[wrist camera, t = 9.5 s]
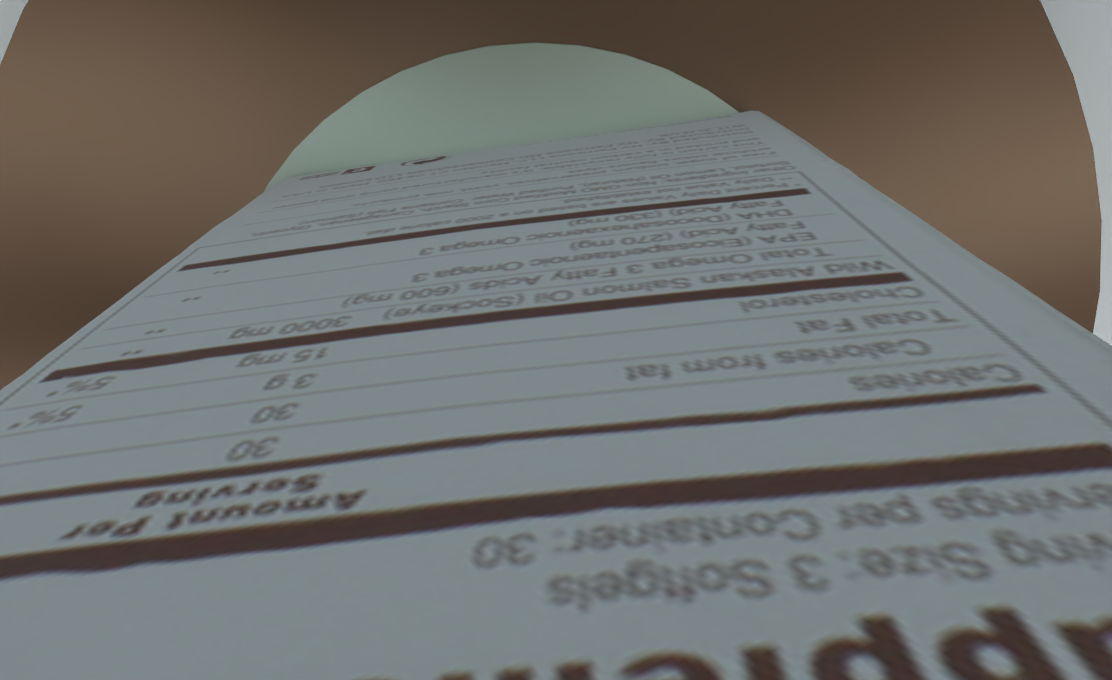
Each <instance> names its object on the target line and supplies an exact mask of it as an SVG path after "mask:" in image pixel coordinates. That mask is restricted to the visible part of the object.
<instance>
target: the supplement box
mask: <svg viewBox="0 0 1112 680" xmlns="http://www.w3.org/2000/svg"><path fill="white" fill-rule="evenodd" d="M0 680H1112V346H1111V345H1109V344H1108V343H1106V342H1105V341H1103V340H1102V339H1100V338H1099V337H1097V336H1096V335H1094V334H1093V333H1091V332H1090V331H1088V330H1087V329H1085V328H1084V327H1082V326H1080V325H1079V324H1077V323H1076V322H1074V321H1073V320H1071V319H1070V318H1068V317H1067V316H1065V315H1064V314H1062V313H1061V312H1059V311H1058V310H1056V309H1055V308H1053V307H1052V306H1050V305H1049V304H1047V303H1046V302H1044V301H1043V300H1041V299H1040V298H1039V297H1037V296H1036V295H1034V294H1033V293H1031V292H1030V291H1028V290H1027V289H1025V288H1024V287H1022V286H1021V285H1020V284H1018V283H1017V282H1015V281H1014V280H1012V279H1011V278H1009V277H1008V276H1006V275H1004V274H1003V273H1001V272H1000V271H998V270H996V269H995V268H993V267H992V266H990V265H988V264H987V263H985V262H984V261H982V260H981V259H979V258H977V257H976V256H974V255H973V254H972V253H970V252H969V251H967V250H966V249H964V248H963V247H961V246H960V245H958V244H957V243H955V242H954V241H953V240H951V239H950V238H948V237H947V236H945V235H944V234H942V233H941V232H939V231H938V230H937V229H935V228H934V227H932V226H931V225H929V224H928V223H926V222H925V221H923V220H922V219H920V218H919V217H917V216H916V215H914V214H913V213H912V212H910V211H909V210H907V209H906V208H904V207H903V206H901V205H900V204H898V203H897V202H895V201H894V200H892V199H891V198H889V197H888V196H886V195H884V194H883V193H881V192H880V191H878V190H877V189H875V188H873V187H872V186H871V185H869V184H868V183H867V182H865V181H864V180H862V179H860V178H859V177H858V176H856V175H855V174H854V173H853V172H852V171H850V170H849V169H848V168H846V167H844V166H842V165H840V164H839V163H837V162H835V161H834V160H832V159H831V158H829V157H828V156H826V155H825V154H824V153H822V152H821V151H819V150H818V149H817V148H815V147H814V146H812V145H811V144H810V143H808V142H807V141H805V140H804V139H802V138H801V137H799V136H798V135H796V134H795V133H793V132H791V131H790V130H788V129H787V128H785V127H784V126H782V125H781V124H779V123H778V122H776V121H775V120H773V119H772V118H770V117H769V116H767V115H765V114H763V113H761V112H760V111H746V112H741V113H736V114H731V115H725V116H718V117H711V118H704V119H697V120H690V121H684V122H677V123H670V124H663V125H657V126H650V127H643V128H635V129H628V130H621V131H614V132H607V133H600V134H593V135H586V136H579V137H572V138H564V139H557V140H550V141H543V142H536V143H528V144H521V145H514V146H507V147H500V148H492V149H485V150H478V151H471V152H464V153H456V154H449V155H442V156H435V157H428V158H420V159H413V160H406V161H399V162H392V163H385V164H377V165H370V166H363V167H356V168H349V169H342V170H336V171H329V172H322V173H315V174H308V175H301V176H295V177H289V178H284V179H282V180H280V181H279V182H277V183H276V184H274V185H273V186H272V187H270V188H269V189H268V190H267V191H265V192H264V193H262V194H261V195H259V196H258V197H257V198H255V199H254V200H253V201H251V202H250V203H249V204H247V205H246V206H245V207H243V208H242V209H240V210H239V211H238V212H236V213H235V214H234V215H232V216H231V217H229V218H228V219H226V220H224V221H223V222H221V223H220V224H218V225H217V226H215V227H214V228H212V229H211V230H210V231H209V232H207V233H206V234H205V235H204V236H202V237H201V238H200V239H198V240H197V241H196V242H194V243H193V244H192V245H190V246H189V247H188V248H187V249H185V250H184V251H183V252H182V253H181V254H179V255H178V256H176V257H175V258H174V259H172V260H171V261H170V262H168V263H167V264H165V265H164V266H163V267H161V268H160V269H159V270H157V271H156V272H154V273H153V274H152V275H151V276H149V277H148V278H147V279H145V280H144V281H143V282H142V283H140V284H139V285H138V286H136V287H135V288H134V289H133V290H131V291H130V292H129V293H128V294H126V295H125V296H124V297H122V298H121V299H120V300H118V301H117V302H116V303H115V304H113V305H112V306H111V307H109V308H108V309H107V310H105V311H104V312H103V313H101V314H100V315H99V316H97V317H96V318H95V319H93V320H92V321H91V322H89V323H88V324H87V325H85V326H84V327H83V328H81V329H80V330H79V331H77V332H76V333H75V334H74V335H73V336H71V337H70V338H69V339H67V340H66V341H65V342H63V343H62V344H61V345H59V346H58V347H57V348H55V349H54V350H53V351H51V352H50V353H48V354H47V355H46V356H45V357H43V358H42V359H41V360H40V361H39V362H37V363H36V364H35V365H34V366H33V367H31V368H30V369H29V370H28V371H26V372H25V373H24V374H22V375H21V376H20V377H18V378H17V379H15V380H14V381H12V382H11V383H10V384H8V385H7V386H5V387H4V388H3V389H1V390H0Z"/></svg>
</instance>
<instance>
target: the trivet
mask: <svg viewBox="0 0 1112 680" xmlns="http://www.w3.org/2000/svg"><path fill="white" fill-rule="evenodd" d="M746 111H760V112H761V113H763V114H765V115H767V116H769V117H770V118H772V119H773V120H775V121H776V122H778V123H779V124H781V125H782V126H784V127H785V128H787V129H788V130H790V131H791V132H793V133H795V134H796V135H798V136H799V137H801V138H802V139H804V140H805V141H807V142H808V143H810V144H811V145H812V146H814V147H815V148H817V149H818V150H819V151H821V152H822V153H824V154H825V155H826V156H828V157H829V158H831V159H832V160H834V161H835V162H837V163H839V164H840V165H842V166H844V167H846V168H848V169H849V170H850V171H852V172H853V173H854V174H855V175H856V176H858V177H859V178H860V179H862V180H864V181H865V182H867V183H868V184H869V185H871V186H872V187H873V188H875V189H877V190H878V191H880V192H881V193H883V194H884V195H886V196H888V197H889V198H891V199H892V200H894V201H895V202H897V203H898V204H900V205H901V206H903V207H904V208H906V209H907V210H909V211H910V212H912V213H913V214H914V215H916V216H917V217H919V218H920V219H922V220H923V221H925V222H926V223H928V224H929V225H931V226H932V227H934V228H935V229H937V230H938V231H939V232H941V233H942V234H944V235H945V236H947V237H948V238H950V239H951V240H953V241H954V242H955V243H957V244H958V245H960V246H961V247H963V248H964V249H966V250H967V251H969V252H970V253H972V254H973V255H974V256H976V257H977V258H979V259H981V260H982V261H984V262H985V263H987V264H988V265H990V266H992V267H993V268H995V269H996V270H998V271H1000V272H1001V273H1003V274H1004V275H1006V276H1008V277H1009V278H1011V279H1012V280H1014V281H1015V282H1017V283H1018V284H1020V285H1021V286H1022V287H1024V288H1025V289H1027V290H1028V291H1030V292H1031V293H1033V294H1034V295H1036V296H1037V297H1039V298H1040V299H1041V300H1043V301H1044V302H1046V303H1047V304H1049V305H1050V306H1052V307H1053V308H1055V309H1056V310H1058V311H1059V312H1061V313H1062V314H1064V315H1065V316H1067V317H1068V318H1070V319H1071V320H1073V321H1074V322H1076V323H1077V324H1079V325H1080V326H1082V327H1084V328H1085V329H1087V330H1088V331H1090V332H1091V333H1093V328H1094V322H1095V316H1096V310H1097V304H1098V298H1099V292H1100V257H1101V213H1100V204H1099V196H1098V188H1097V179H1096V171H1095V162H1094V154H1093V147H1092V143H1091V140H1090V136H1089V132H1088V129H1087V125H1086V121H1085V117H1084V114H1083V110H1082V106H1081V103H1080V99H1079V95H1078V92H1077V88H1076V84H1075V81H1074V77H1073V74H1072V72H1071V69H1070V67H1069V65H1068V63H1067V60H1066V58H1065V56H1064V54H1063V51H1062V49H1061V47H1060V45H1059V42H1058V40H1057V38H1056V36H1055V33H1054V31H1053V29H1052V26H1051V24H1050V22H1049V20H1048V17H1047V15H1046V13H1045V11H1044V8H1043V6H1042V4H1041V2H1040V1H1039V0H29V1H28V3H27V4H26V6H25V8H24V9H23V12H22V14H21V16H20V19H19V21H18V24H17V26H16V29H15V31H14V33H13V36H12V38H11V41H10V43H9V45H8V48H7V50H6V53H5V55H4V57H3V60H2V62H1V65H0V390H1V389H3V388H4V387H5V386H7V385H8V384H10V383H11V382H12V381H14V380H15V379H17V378H18V377H20V376H21V375H22V374H24V373H25V372H26V371H28V370H29V369H30V368H31V367H33V366H34V365H35V364H36V363H37V362H39V361H40V360H41V359H42V358H43V357H45V356H46V355H47V354H48V353H50V352H51V351H53V350H54V349H55V348H57V347H58V346H59V345H61V344H62V343H63V342H65V341H66V340H67V339H69V338H70V337H71V336H73V335H74V334H75V333H76V332H77V331H79V330H80V329H81V328H83V327H84V326H85V325H87V324H88V323H89V322H91V321H92V320H93V319H95V318H96V317H97V316H99V315H100V314H101V313H103V312H104V311H105V310H107V309H108V308H109V307H111V306H112V305H113V304H115V303H116V302H117V301H118V300H120V299H121V298H122V297H124V296H125V295H126V294H128V293H129V292H130V291H131V290H133V289H134V288H135V287H136V286H138V285H139V284H140V283H142V282H143V281H144V280H145V279H147V278H148V277H149V276H151V275H152V274H153V273H154V272H156V271H157V270H159V269H160V268H161V267H163V266H164V265H165V264H167V263H168V262H170V261H171V260H172V259H174V258H175V257H176V256H178V255H179V254H181V253H182V252H183V251H184V250H185V249H187V248H188V247H189V246H190V245H192V244H193V243H194V242H196V241H197V240H198V239H200V238H201V237H202V236H204V235H205V234H206V233H207V232H209V231H210V230H211V229H212V228H214V227H215V226H217V225H218V224H220V223H221V222H223V221H224V220H226V219H228V218H229V217H231V216H232V215H234V214H235V213H236V212H238V211H239V210H240V209H242V208H243V207H245V206H246V205H247V204H249V203H250V202H251V201H253V200H254V199H255V198H257V197H258V196H259V195H261V194H262V193H264V192H265V191H267V190H268V189H269V188H270V187H272V186H273V185H274V184H276V183H277V182H279V181H280V180H282V179H284V178H289V177H295V176H301V175H308V174H315V173H322V172H329V171H336V170H342V169H349V168H356V167H363V166H370V165H377V164H385V163H392V162H399V161H406V160H413V159H420V158H428V157H435V156H442V155H449V154H456V153H464V152H471V151H478V150H485V149H492V148H500V147H507V146H514V145H521V144H528V143H536V142H543V141H550V140H557V139H564V138H572V137H579V136H586V135H593V134H600V133H607V132H614V131H621V130H628V129H635V128H643V127H650V126H657V125H663V124H670V123H677V122H684V121H690V120H697V119H704V118H711V117H718V116H725V115H731V114H736V113H741V112H746Z"/></svg>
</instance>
